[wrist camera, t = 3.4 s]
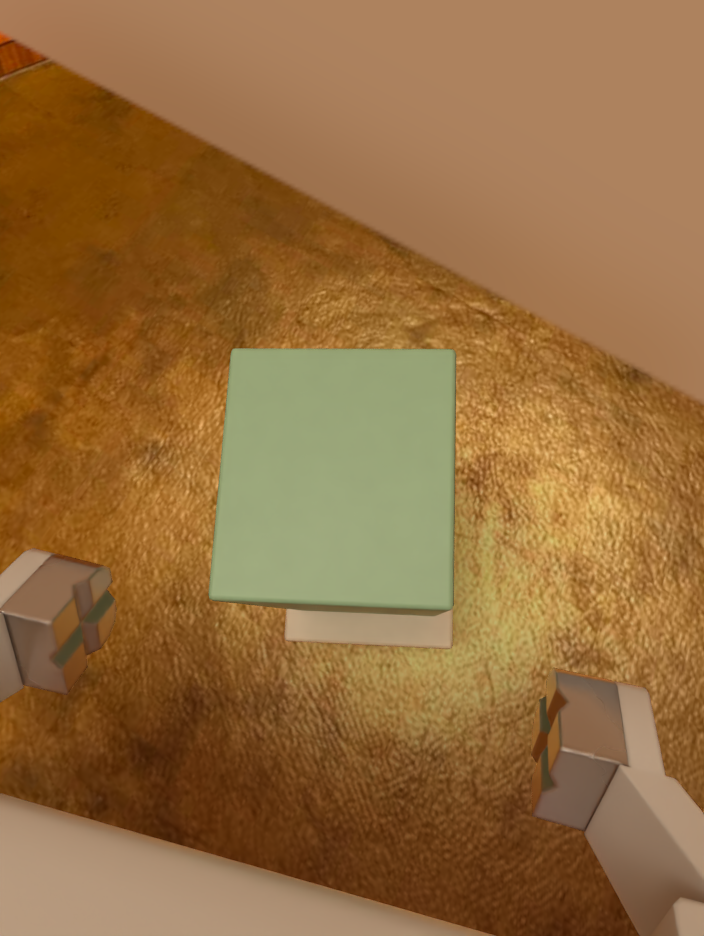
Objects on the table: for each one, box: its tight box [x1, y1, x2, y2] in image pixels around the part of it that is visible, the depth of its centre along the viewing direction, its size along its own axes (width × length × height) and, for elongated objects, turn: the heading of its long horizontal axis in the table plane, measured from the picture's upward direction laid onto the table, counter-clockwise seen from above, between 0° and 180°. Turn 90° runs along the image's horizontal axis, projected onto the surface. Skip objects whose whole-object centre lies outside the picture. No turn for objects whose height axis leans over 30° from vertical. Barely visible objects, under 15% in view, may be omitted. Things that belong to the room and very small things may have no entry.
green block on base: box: [208, 349, 456, 649], centre depth 15 cm, size 4×6×11 cm
